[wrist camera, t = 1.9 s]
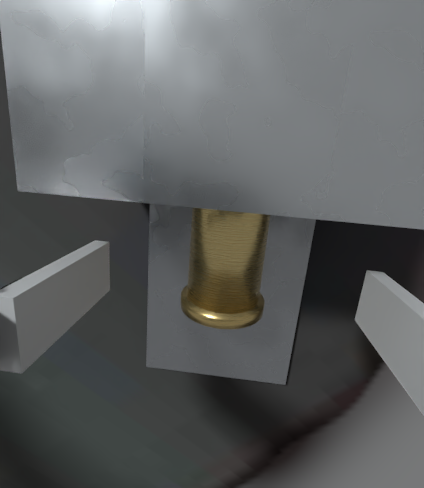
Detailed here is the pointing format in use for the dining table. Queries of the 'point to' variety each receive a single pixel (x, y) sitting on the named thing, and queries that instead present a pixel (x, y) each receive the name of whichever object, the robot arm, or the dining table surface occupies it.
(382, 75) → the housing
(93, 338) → the dining table surface
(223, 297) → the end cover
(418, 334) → the robot arm
